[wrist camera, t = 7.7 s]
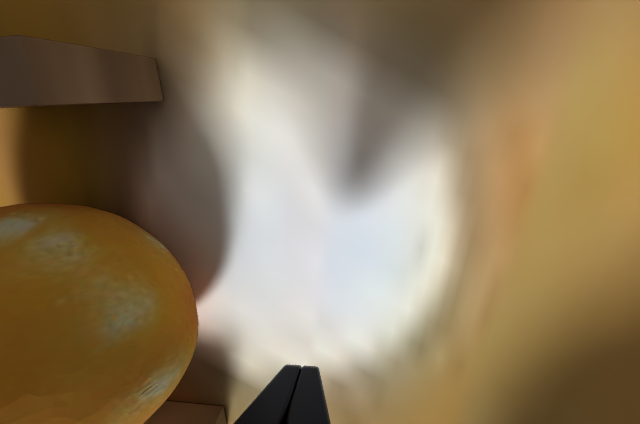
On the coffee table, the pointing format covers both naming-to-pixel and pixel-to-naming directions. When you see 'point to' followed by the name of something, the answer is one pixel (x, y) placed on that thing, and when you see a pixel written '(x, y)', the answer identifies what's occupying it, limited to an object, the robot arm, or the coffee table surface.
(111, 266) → the fruit
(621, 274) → the coffee table surface
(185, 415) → the tray
